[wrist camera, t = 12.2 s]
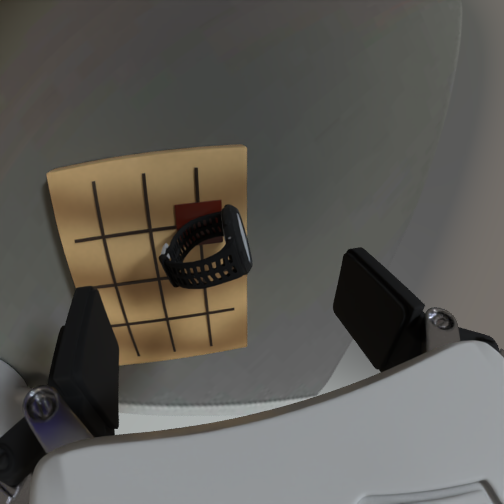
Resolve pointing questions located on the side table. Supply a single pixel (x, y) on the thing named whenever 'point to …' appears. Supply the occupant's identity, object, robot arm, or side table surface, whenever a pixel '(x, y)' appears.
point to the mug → (11, 397)
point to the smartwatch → (233, 248)
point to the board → (154, 246)
